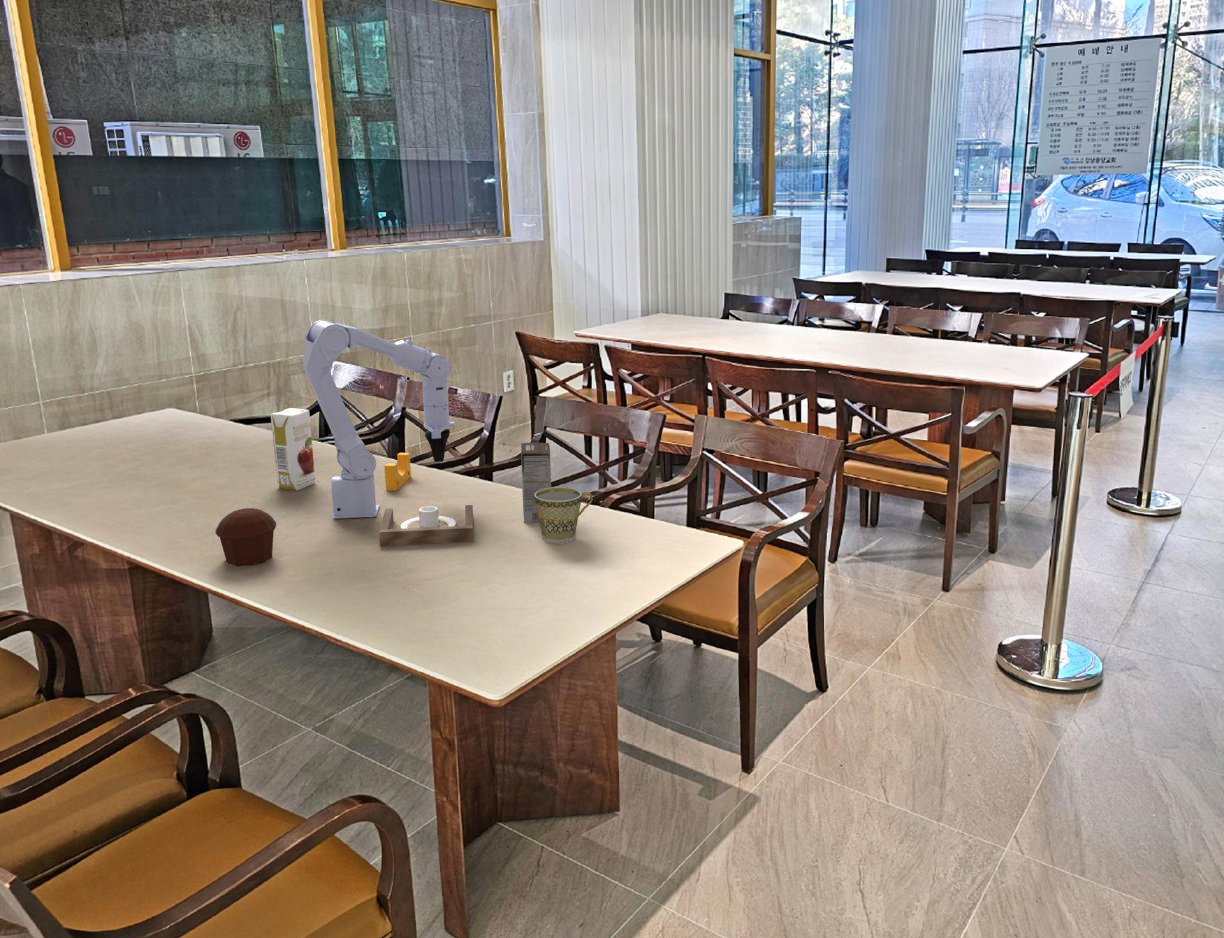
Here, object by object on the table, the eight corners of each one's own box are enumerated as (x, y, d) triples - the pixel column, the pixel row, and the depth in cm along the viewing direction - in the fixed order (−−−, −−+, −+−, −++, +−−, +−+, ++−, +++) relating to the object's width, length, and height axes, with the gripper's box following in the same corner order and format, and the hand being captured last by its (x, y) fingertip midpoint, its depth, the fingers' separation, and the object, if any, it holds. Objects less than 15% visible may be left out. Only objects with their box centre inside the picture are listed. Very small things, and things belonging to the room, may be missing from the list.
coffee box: (523, 510, 227) (521, 442, 222) (550, 509, 227) (549, 441, 223) (522, 523, 218) (520, 452, 213) (552, 522, 218) (550, 452, 214)
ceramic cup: (546, 550, 202) (545, 503, 199) (527, 535, 210) (526, 490, 207) (603, 539, 207) (602, 494, 205) (582, 525, 216) (582, 482, 213)
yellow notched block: (394, 476, 253) (393, 452, 252) (411, 477, 253) (409, 453, 251) (379, 490, 242) (377, 465, 240) (396, 491, 241) (394, 465, 240)
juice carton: (273, 488, 243) (265, 413, 238) (296, 479, 251) (289, 406, 245) (297, 492, 240) (290, 416, 235) (320, 482, 248) (313, 409, 243)
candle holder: (408, 540, 208) (407, 520, 207) (394, 523, 219) (393, 505, 218) (463, 531, 214) (462, 512, 212) (447, 515, 224) (446, 497, 223)
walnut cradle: (380, 545, 204) (379, 532, 203) (386, 521, 219) (385, 508, 218) (473, 541, 207) (472, 527, 206) (473, 517, 221) (472, 504, 221)
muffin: (243, 573, 190) (237, 524, 187) (206, 562, 196) (200, 514, 193) (291, 554, 200) (287, 507, 197) (255, 544, 205) (250, 498, 202)
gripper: (452, 410, 222) (455, 468, 226) (453, 397, 236) (456, 452, 240) (421, 411, 221) (424, 469, 225) (424, 398, 235) (427, 453, 239)
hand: (439, 460), depth 232 cm, fingers closed
